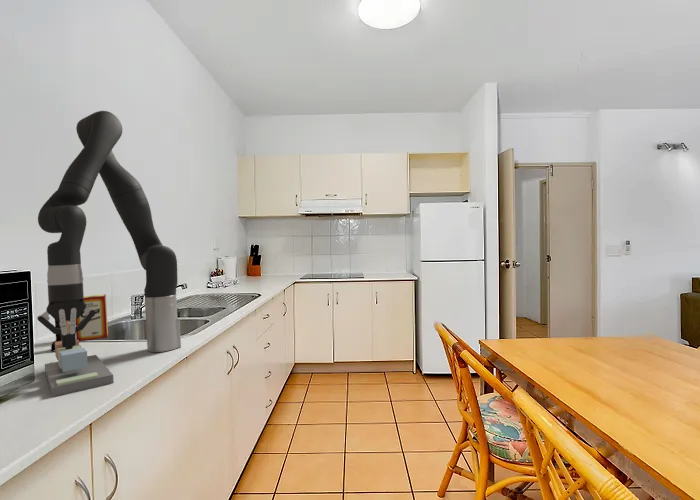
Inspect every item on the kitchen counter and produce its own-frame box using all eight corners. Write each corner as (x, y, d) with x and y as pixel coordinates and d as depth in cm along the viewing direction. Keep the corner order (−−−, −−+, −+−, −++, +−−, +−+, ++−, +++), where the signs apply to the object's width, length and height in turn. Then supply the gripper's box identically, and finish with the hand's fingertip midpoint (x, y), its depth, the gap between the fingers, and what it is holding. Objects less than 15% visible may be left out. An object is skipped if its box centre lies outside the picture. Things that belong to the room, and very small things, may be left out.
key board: (96, 361, 118) (95, 352, 118) (113, 382, 98) (112, 372, 98) (44, 371, 110) (44, 361, 110) (52, 396, 90) (51, 385, 90)
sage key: (81, 359, 108) (80, 344, 108) (83, 363, 105) (82, 348, 105) (58, 363, 105) (57, 348, 105) (60, 367, 101) (59, 352, 101)
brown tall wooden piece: (72, 345, 140) (69, 294, 140) (78, 347, 136) (75, 294, 135) (48, 349, 135) (45, 296, 134) (54, 352, 131) (51, 297, 130)
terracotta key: (77, 352, 114) (76, 338, 114) (79, 355, 110) (78, 341, 110) (55, 356, 111) (54, 341, 111) (57, 359, 107) (56, 345, 107)
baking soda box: (76, 341, 146) (74, 297, 146) (78, 338, 152) (76, 295, 151) (107, 337, 150) (104, 295, 150) (108, 334, 156) (105, 293, 156)
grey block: (84, 363, 103) (84, 347, 103) (87, 367, 99) (86, 351, 99) (60, 367, 100) (60, 351, 99) (63, 372, 96) (62, 355, 96)
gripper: (93, 279, 112) (96, 341, 112) (32, 283, 103) (36, 350, 104) (97, 280, 106) (100, 346, 106) (33, 285, 97) (37, 356, 98)
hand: (68, 348), depth 105 cm, fingers closed
